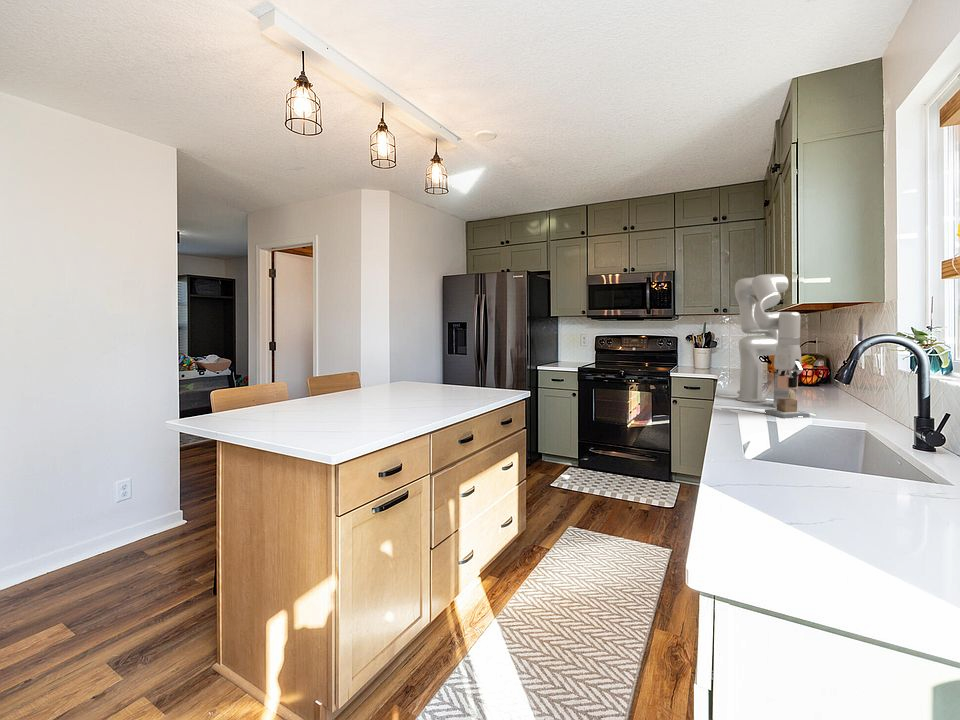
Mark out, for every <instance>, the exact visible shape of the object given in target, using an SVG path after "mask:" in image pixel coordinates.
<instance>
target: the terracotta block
mask: <svg viewBox="0 0 960 720" xmlns="http://www.w3.org/2000/svg"><path fill="white" fill-rule="evenodd" d="M789 378H790V376H778V377H777V388H781V389H796V390H798V388H799V387H798V385H799V377H798V378H797V387H793V388H790V387H788V385H789Z"/></svg>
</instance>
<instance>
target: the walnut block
mask: <svg viewBox="0 0 960 720" xmlns="http://www.w3.org/2000/svg"><path fill="white" fill-rule="evenodd" d="M776 409H777V411H781V412H785V413H789V412H797V411H798V399H796V400H794V399H790V398H780V399H777V408H776Z"/></svg>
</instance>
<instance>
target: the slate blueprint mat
mask: <svg viewBox="0 0 960 720" xmlns="http://www.w3.org/2000/svg"><path fill="white" fill-rule="evenodd" d="M765 412H766V413H770V414H773V415H772V416H774V415H776V416H775V417H777V416H778V417H777V418H782V419H790V418H791V419H794V418H793V417H798V416H803V418H810V415H811V414H810V413H809V412H805V411H801V410H797V412H789V413H785V412H781V411H777V408H773V409H770V408H769V409H764V413H765ZM766 413H765V414H766ZM770 414H769V415H770Z"/></svg>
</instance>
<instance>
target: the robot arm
mask: <svg viewBox="0 0 960 720" xmlns="http://www.w3.org/2000/svg"><path fill="white" fill-rule="evenodd" d="M789 283H790V282H789V278H788V277H787V276H786V275H785V274H782V273H771V274H770V273H767V274H759V275H757V276H754V277H744V278H740V279H738V280H737V281H736V283H735V284H734V296H735V299H736V301H737V303H738V307H739V308H738V309H739V318H740V319H739V320H740V329H741V332H742V333H743V334H748V335H749V334H750V335H749V336H748V335H747V336H744V337H742V338H740V339H739V341H738V349H739V350H738V351H739V357H740V358H739V359H740V360H739V361H740V366H739V367H740V368H739V369H740V372H739V376H740V377H739V381H740V383H739V384H740V385H739V389H738V390H737V391H736V392H737V394H738V396H736V400H737V401H739V402H746V403H747V402H749V403H764V402H766V401H767V398H765V397H763V381H764V380H763V378H764V375H763V373H764V371H763V370H764V365H763V362H762V361H761V360H760V358H759V357H760V356H762V357H763V356H774V358H773V359H774V360H773V368H774V370H775V371H776V372H777V373H778V374H777V375H778V376H785V375H786V371H789V375H790V378H789V385H788V387H790V388H793V387H797V378H798V379H799V375H800V374H802V372H803V371H804V369H803V367H802V350H801V345H800V344H801V314H800V312H797V311H770V312H765V311H766V310H768V309H771V308H772V307H775V306H777V305H778V304H780V302H781V298H782V296H781V293H785V292H786V291H787V290H788V289H789ZM753 296H756V298H757V300H756V299H755V298H754V297H753ZM756 334H757V335H756ZM759 334H762V335H759ZM793 372H794V373H793Z"/></svg>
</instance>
